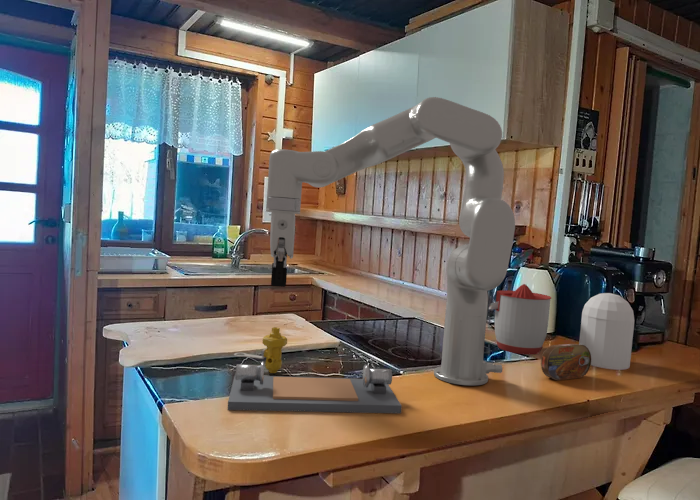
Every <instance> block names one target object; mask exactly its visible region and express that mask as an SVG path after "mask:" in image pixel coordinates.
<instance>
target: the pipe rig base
mask: <svg viewBox="0 0 700 500" xmlns="http://www.w3.org/2000/svg"><path fill="white" fill-rule="evenodd" d="M235 377H236V374H234V376H233V380H232V385H231V388H230V393H229V396H228V400H227V411H262V412H263V411H265V412H274V411H275V412H308V413H312V412H315V413H317V412H319V413H356V414H357V413H364V414H365V413H367V414H368V413H369V414H374V413H375V414H402V404H401V402H400V401H399V399H398V397H397V396H396V394H395V393H394V391H393V390H392V388H391V387H390V385H388V384H385V386H386V394H374V393H373V391H372V390H371V384H369V385H368V387H367V388H366V387H364V386H363V378H349V377H348V378H347V377H346V378H345V377H316V376H312V377H311V376H281V375H277V376H276V375H264V379H263V385H260V381H254V388H253V391H240V390H241V380H235Z"/></svg>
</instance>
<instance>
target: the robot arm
mask: <svg viewBox="0 0 700 500" xmlns="http://www.w3.org/2000/svg"><path fill="white" fill-rule="evenodd" d="M435 139H438V140H441V141H444V142H446V143H449V145H450V148H451V150H452V151H453V153H454V154H455V155H456V157H458V158H459V160H461V162H462V164H463V166H464V169H465V183H464V184H465V187H464V192H463V197H462V202H461V206H460V207H461V208H460V212H459V218H458V224H459V228H460V230H461V232H462V233H463V235H465V236H466V237H468V238H469V242H468V244H463V245H459V246H458V247H456V248H455V249H453V250H452V252H451V253H450V254H449V256H448V259H447V263H446V269H445V270H446V274H445V275H446V302H445V303H446V304H445V316H444V328H443V339H442V349H441V350H442V353H441V364H440V366H438V367H435V368H434V370H433V376H434V377H435V378H437V379H439V380H440V381H444V382H446V383H450V384H452V385H453V384H454V385H460V386H469V387H470V386H481V385H485V384H487V383H488V381H489V375H490V373H497V374H501V373H502V372H503V365H502V364H499V363H498V364H496V363H495V364H494V362H487V361H486V360H484V350H485V340H486V339H485V338H486V329H487V316H488V310H489V307H488V306H489V297H488V291H492V290H493V289H494V290H495V289H496V288H498V287H499V286H500V285H501V283H502V282H503V281H504V279H505V278H506V275H507V272H508V268H509V263H510V259H511V253H512V248H513V242H514V237H515V231H516V218H515V214H514V211H513V209H512V207H511V206H510V204H508V202H506V201H505V200H503V199H502V195H503V189H504V179H505V171H504V166H503V161H502V159H501V157H500V155H499V153H498V152H497V148H498V147H499V146H500V144H501V143H502V139H503V131H502V127H501V124H500V123H499V122H498V121H497V120H496V118H494V117H493V116H491V115H490V114H487V113H485V112H482V111H481V110H477V109H474V108H471V107H468V106H465V105H463V104H460V103H457V102H455V101H452V100H448V99H446V98H442V97H437V96H432V97H430V96H429V97H427V98H425V99H422V100H421V101H420V102H419V103H417V104H416V105H414V106H412V107H409V108H408V109H405V110H403V111H400V112H399V113H396V114H395V115H393V116H390V117H388V118H385V119H382V120H381V121H379V122H376V123H373V124H371V125H369V126H368V127H366V128H365V129H362V130H361V131H360V132H358V133H357V134H356V135H354V136H353V137H351V138H350V139H348V140H346V141H344V142H342V143H340V144H338V145H336V146H333V147H331V148H330V149H327V150H325V151H321V150H319V151H316V150H315V151H314V150H313V151H297V150H293V149H283V148H282V149H280V148H279V149H273V150H272V151H271V152H270V154H269V160H268V173H267V174H268V176H267V177H268V178H267V188H266V189H267V191H266V205H265V207H266V208H265V212H266V213H270V215H271V216H270V230H269V231H270V234H269V235H270V236H269V237H270V238H269V246H270V249H269V250H270V257H272V258H273V262H272V264H271V277H270V279H271V280H270V285H271V287H283V288H284V287H286V286H287V277H288V267H287V258H288V257H289V259H291V260H292V259H293V258H294V249H295V247H294V246H295V235H296V215H301V208H302V207H301V205H302V190H303V183H306V184H308V185H310V186H312V187H314V188H324V187H326V186H329V185H331V184H333V183H335V182H337V181H340V180H342V179H343V178H346V177H348V176H351V175H353V174H355V173H357V172H359V171H362V170H365V169H367V168H372V167H374V166H377V165H379V164H382V163H384V162H386V161H388V160H391V159H393V158H395V157H397V156H399V155H401V154H404V153H406V152H408V151H411V150H412V149H415V148H417V147H419V146H422V145H424V144H427V143H428V142H430V141H432V140H435ZM488 374H489V375H488Z"/></svg>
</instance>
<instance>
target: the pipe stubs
mask: <svg viewBox="0 0 700 500" xmlns="http://www.w3.org/2000/svg"><path fill="white" fill-rule="evenodd" d="M260 363H261V364H236V367H235V375H236V377H235V380H241V390H240V391H253V388H254V381H260V385H263V379H264V376H265V361H261V362H260ZM362 368H363V369H362V379H363V386H364V387H366V388H367V387H368V385H369V384H371V390H372V391H373V393H374V394H386V386H385V384H388V385H389V386H390V385H392V382H393V372H392V368H389V369H388V368H370V366H369V365H368V364H364V365H363V367H362Z"/></svg>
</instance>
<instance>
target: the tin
mask: <svg viewBox="0 0 700 500" xmlns="http://www.w3.org/2000/svg"><path fill="white" fill-rule="evenodd" d="M540 362H541V363H540V365H541V371H542V373H543V374H544V375H545V376H546V377H547V378H550V379H553V380H555V381H565V380H572V379H573V380H574V379H581V378H583V377H585V376H586V375H587V374H588V372H589V371H590V368H591V366H592V365H591V354H590V351H589V349H588V348H587V347H586V346H584V345H579V343H568V344H567V343H563V344H554V345H553V344H552V345H549V346H548V347H546V348H545V349H544V350H543V352H542V354H541V360H540Z"/></svg>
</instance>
